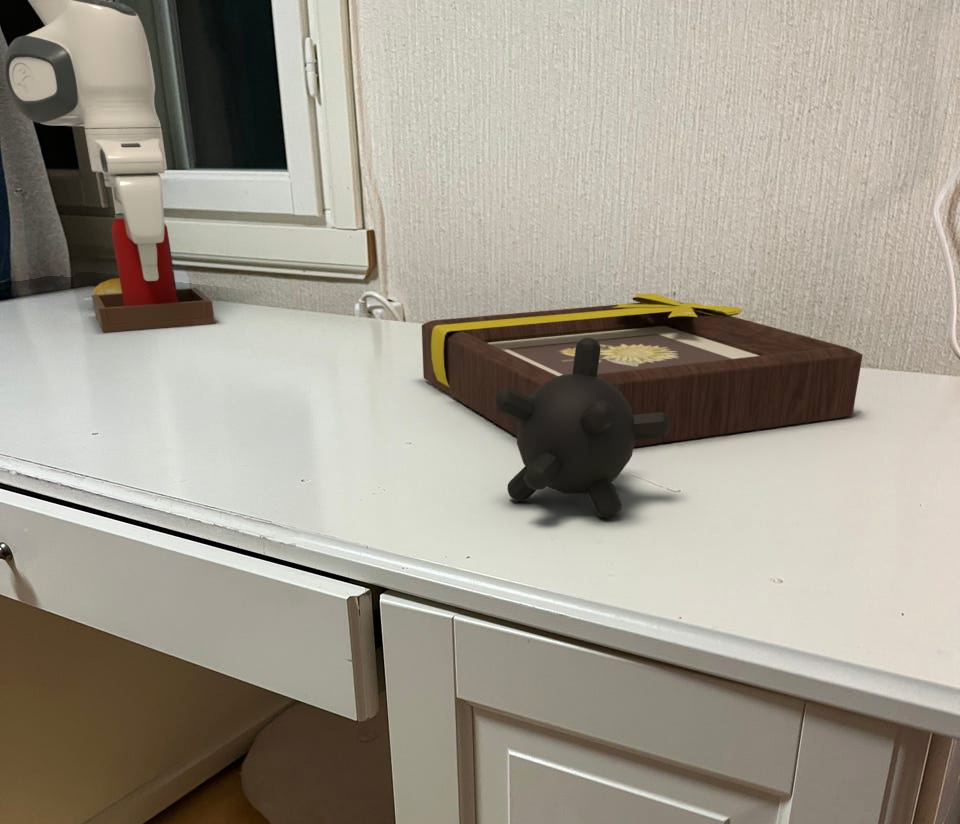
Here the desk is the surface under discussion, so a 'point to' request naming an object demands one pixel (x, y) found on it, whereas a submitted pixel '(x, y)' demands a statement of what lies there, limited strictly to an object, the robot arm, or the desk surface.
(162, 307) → the serving tray
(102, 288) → the bread roll
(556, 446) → the naval mine
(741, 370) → the brown gift box
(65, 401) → the desk surface
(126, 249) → the beverage can
